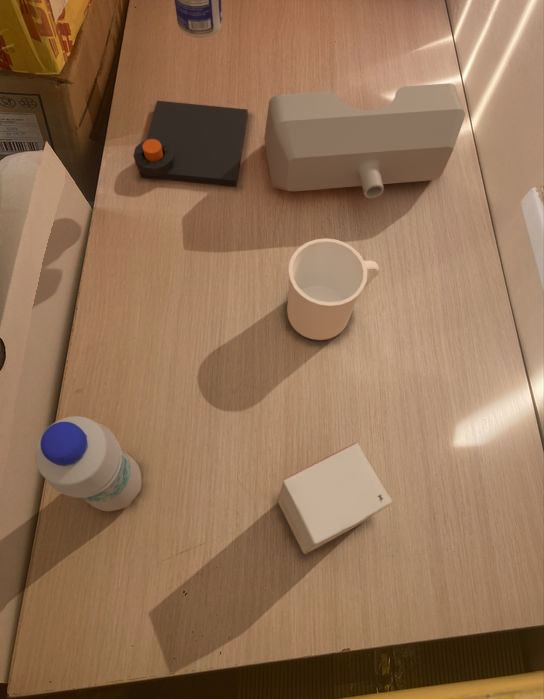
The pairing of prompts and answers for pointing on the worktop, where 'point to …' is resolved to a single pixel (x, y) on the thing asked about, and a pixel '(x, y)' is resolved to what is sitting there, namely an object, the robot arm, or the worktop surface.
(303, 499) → the small box
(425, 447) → the worktop surface
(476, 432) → the worktop surface
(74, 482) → the bottle
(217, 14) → the pill bottle
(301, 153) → the tank
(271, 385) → the worktop surface
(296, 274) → the mug
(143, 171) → the scale
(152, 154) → the button
